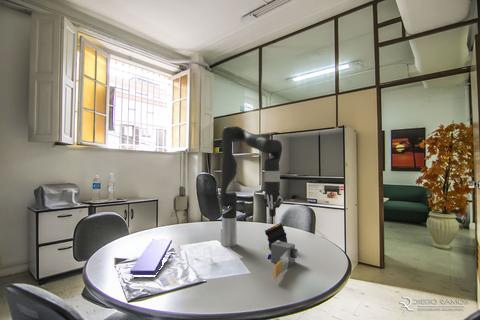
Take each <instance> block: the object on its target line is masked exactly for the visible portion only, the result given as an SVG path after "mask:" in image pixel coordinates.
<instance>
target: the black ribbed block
mask: <svg viewBox="0 0 480 320" xmlns="http://www.w3.org/2000/svg"><path fill="white" fill-rule="evenodd" d="M264 233H265V235H266V237H267V241H268V248H269V250H270V251H271V244H272V243H274V242H276V241H281V242H286V243H288V238H287V233H286V232H285V229H284V225H283V224H282V222H280V223H277V224H275V225H274V226H271V227H269V228H267V229H266V230H264Z"/></svg>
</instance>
